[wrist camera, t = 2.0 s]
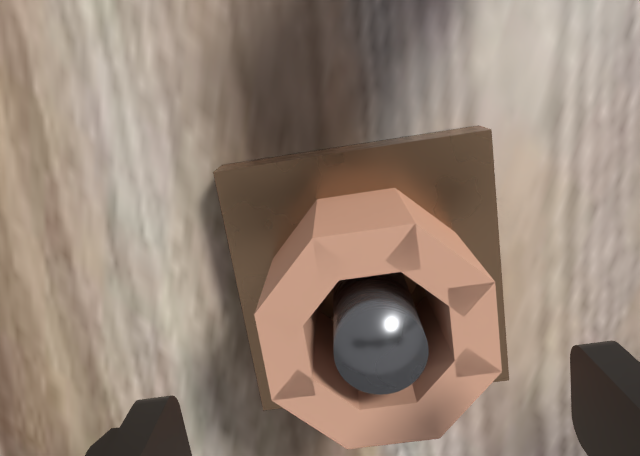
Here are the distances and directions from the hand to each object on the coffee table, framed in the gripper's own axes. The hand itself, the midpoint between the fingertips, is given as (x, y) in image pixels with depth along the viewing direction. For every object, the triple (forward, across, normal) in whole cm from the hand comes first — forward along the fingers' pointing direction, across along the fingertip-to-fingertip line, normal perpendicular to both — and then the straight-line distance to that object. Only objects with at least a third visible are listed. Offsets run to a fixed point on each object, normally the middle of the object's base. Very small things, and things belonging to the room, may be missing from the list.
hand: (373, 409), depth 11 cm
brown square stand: (+9, 0, 0) cm, 9 cm away
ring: (+8, 0, 0) cm, 8 cm away
